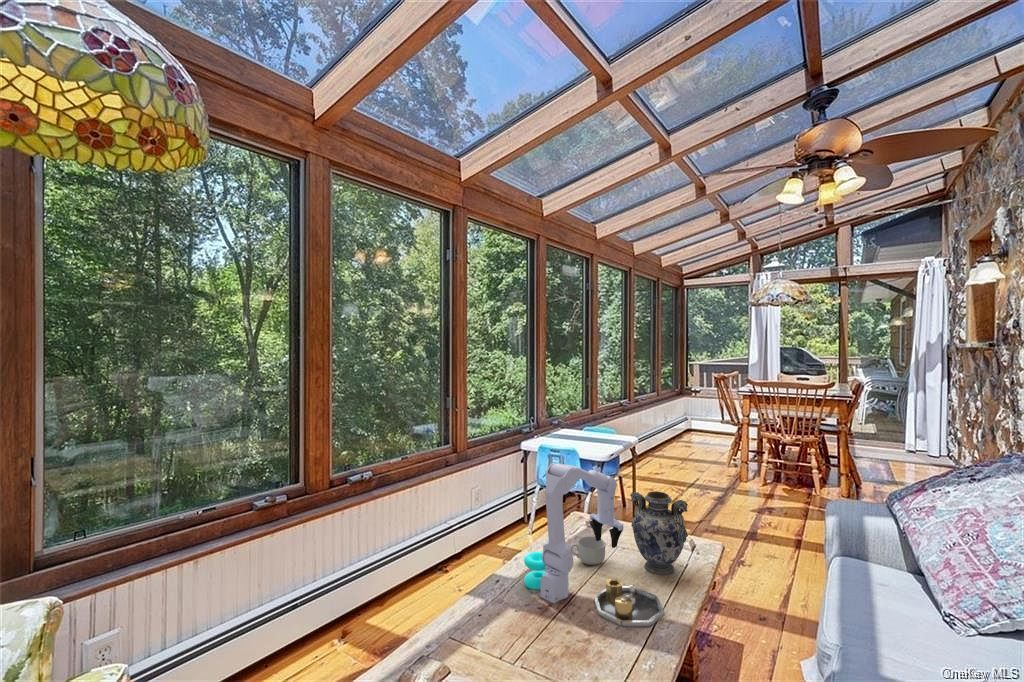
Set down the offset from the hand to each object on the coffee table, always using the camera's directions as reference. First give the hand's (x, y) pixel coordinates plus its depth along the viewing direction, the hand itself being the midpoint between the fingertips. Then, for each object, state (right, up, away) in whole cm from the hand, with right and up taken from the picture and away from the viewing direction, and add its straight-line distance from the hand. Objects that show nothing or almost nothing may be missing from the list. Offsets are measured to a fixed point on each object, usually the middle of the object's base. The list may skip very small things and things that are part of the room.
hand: (606, 543), depth 177 cm
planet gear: (-2, -9, -21) cm, 23 cm away
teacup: (-6, -10, +7) cm, 14 cm away
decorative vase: (+20, -10, +1) cm, 23 cm away
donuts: (-26, -11, -10) cm, 30 cm away
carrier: (+2, -10, -26) cm, 28 cm away
